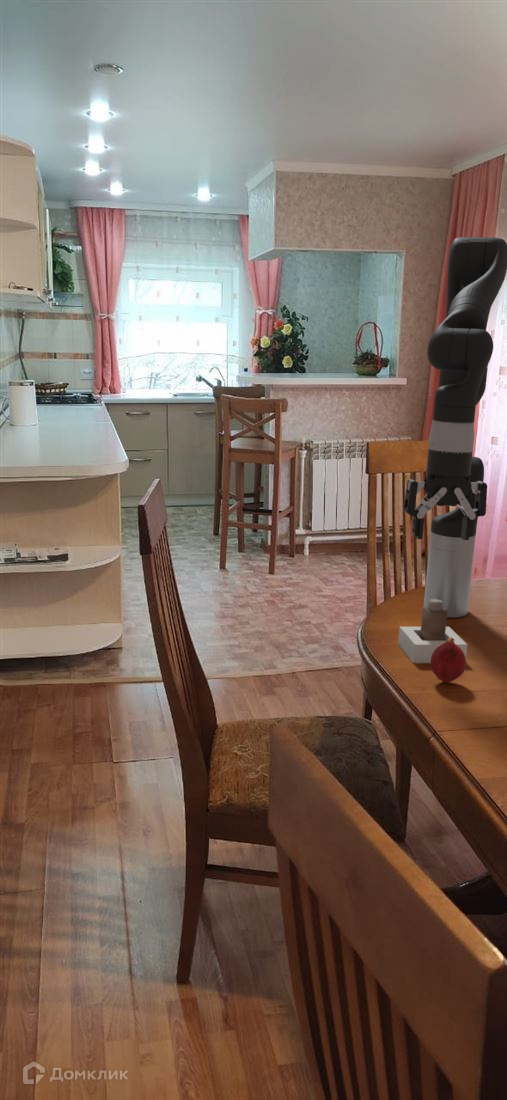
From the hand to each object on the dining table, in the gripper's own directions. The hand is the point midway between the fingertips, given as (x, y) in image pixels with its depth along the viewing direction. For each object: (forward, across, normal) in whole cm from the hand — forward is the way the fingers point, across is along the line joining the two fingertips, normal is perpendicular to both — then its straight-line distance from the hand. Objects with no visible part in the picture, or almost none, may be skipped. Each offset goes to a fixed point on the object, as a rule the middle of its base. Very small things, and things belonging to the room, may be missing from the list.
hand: (441, 538), depth 149 cm
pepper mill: (+22, 0, 0) cm, 22 cm away
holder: (+22, 0, 0) cm, 22 cm away
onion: (+22, -2, -14) cm, 26 cm away
